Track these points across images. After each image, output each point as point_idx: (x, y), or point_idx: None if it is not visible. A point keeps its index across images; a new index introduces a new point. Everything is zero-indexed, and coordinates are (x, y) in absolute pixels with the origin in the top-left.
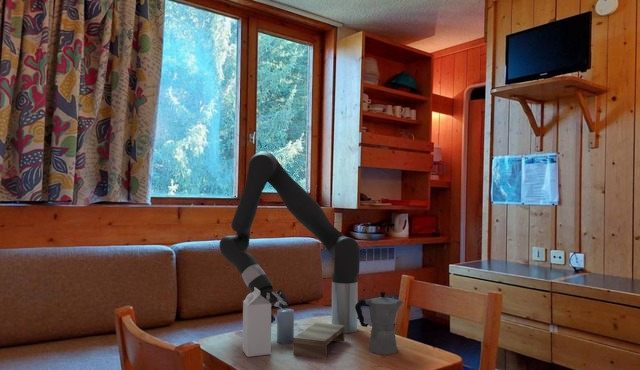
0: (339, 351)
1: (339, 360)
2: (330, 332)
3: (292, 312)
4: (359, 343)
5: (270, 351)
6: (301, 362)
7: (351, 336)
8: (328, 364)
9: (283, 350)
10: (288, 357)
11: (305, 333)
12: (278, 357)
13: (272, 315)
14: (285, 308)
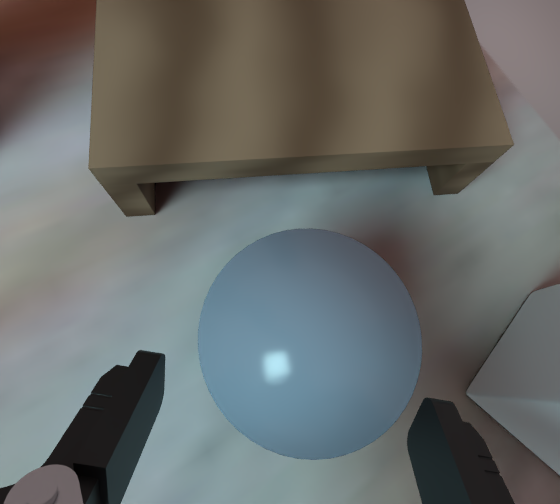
0: None
1: None
2: (295, 10)
3: (313, 233)
4: None
5: (545, 289)
6: (516, 120)
7: (28, 64)
8: None
9: (433, 270)
10: (503, 195)
11: (395, 120)
12: (533, 236)
13: (458, 439)
14: (119, 455)
